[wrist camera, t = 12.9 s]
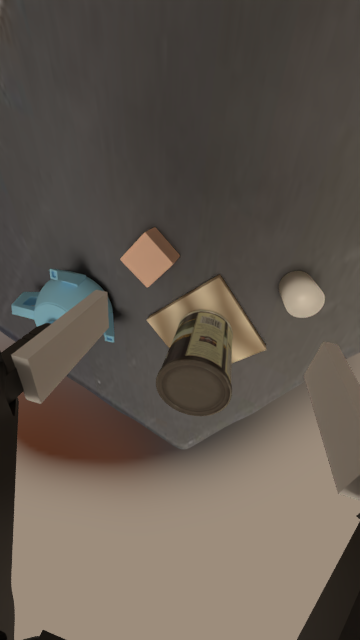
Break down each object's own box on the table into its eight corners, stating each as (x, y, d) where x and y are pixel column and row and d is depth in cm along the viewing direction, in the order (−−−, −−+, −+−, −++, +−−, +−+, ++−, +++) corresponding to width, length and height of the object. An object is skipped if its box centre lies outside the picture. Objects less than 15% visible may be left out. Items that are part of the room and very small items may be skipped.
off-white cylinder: (304, 264, 36) (315, 277, 31) (318, 290, 38) (330, 307, 32) (272, 281, 38) (278, 295, 33) (286, 305, 40) (294, 323, 35)
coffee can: (182, 356, 48) (164, 415, 36) (173, 311, 43) (147, 360, 31) (235, 356, 45) (234, 418, 33) (231, 307, 40) (228, 359, 28)
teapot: (86, 250, 43) (45, 268, 33) (134, 317, 47) (110, 349, 38) (36, 286, 49) (-11, 310, 40) (83, 342, 54) (51, 375, 45)
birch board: (219, 274, 39) (219, 276, 38) (265, 344, 44) (266, 349, 43) (149, 316, 46) (146, 319, 45) (194, 373, 51) (193, 378, 50)
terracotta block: (155, 226, 38) (144, 232, 34) (180, 255, 39) (173, 264, 35) (132, 251, 41) (119, 259, 37) (156, 277, 42) (147, 287, 38)
